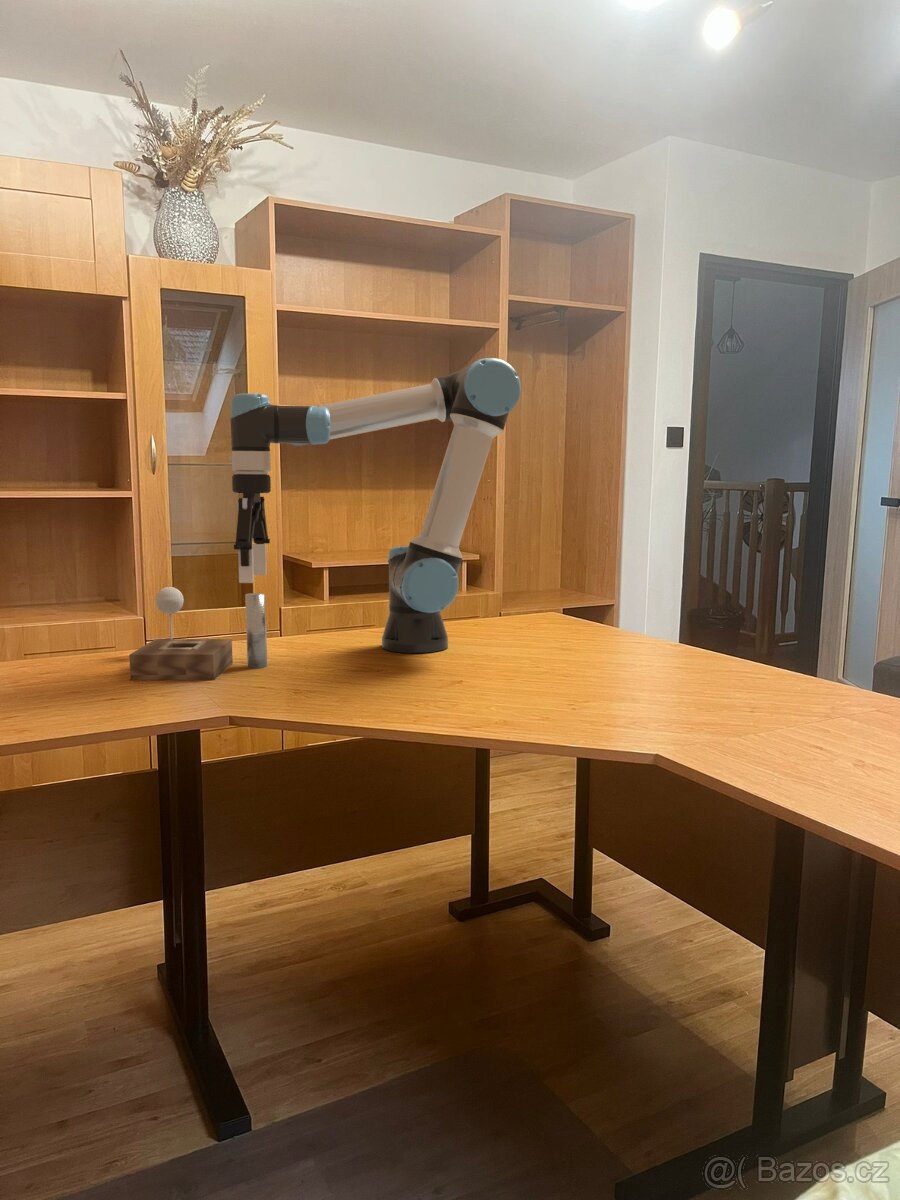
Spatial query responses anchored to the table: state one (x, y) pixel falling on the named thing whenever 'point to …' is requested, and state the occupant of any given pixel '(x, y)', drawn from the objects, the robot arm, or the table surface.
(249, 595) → the pin
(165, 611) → the lollipop
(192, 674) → the bore block
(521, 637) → the table surface
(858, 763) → the table surface
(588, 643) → the table surface
